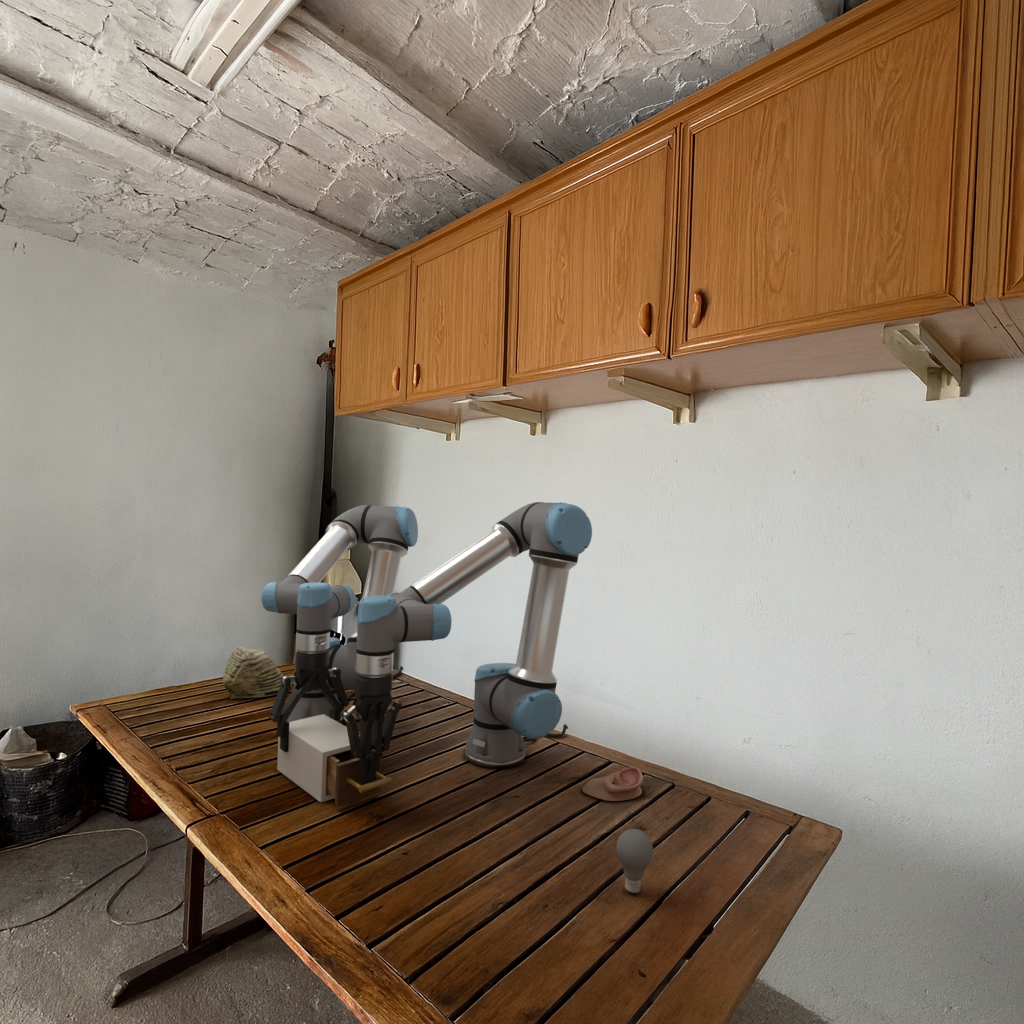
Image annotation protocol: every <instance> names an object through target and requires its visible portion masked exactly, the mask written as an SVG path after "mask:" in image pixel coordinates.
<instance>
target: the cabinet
mask: <svg viewBox="0 0 1024 1024" xmlns="http://www.w3.org/2000/svg"><path fill="white" fill-rule="evenodd" d="M289 723H290V724H289V748H288V752H284V751H282V750H281V749H280V737H279V736H277V761H276V763H277V764H276V765H277V766H276V770H277V771H278V772H280V773H281V774H282V775H284V776H285V777H286V778H288V779H289V780H290V781H292V782H293V783H294V784H296V785H297V786H298V787H300V788H301V789H302V790H304V791H305V792H306V793H307V794H308V795H310V796H311V797H313V798H314V799H315V800H316V801H318V802H320V803H323V802H324V803H325V802H327V801H330V800H332V799H335V798H334V797H332V796H331V795H330V794H328V793H327V792H326V771H327V756H330V755H333V754H337V753H341V752H344V751H348V750H351V749H350V743H349V738H348V732H347V727H346V725H344V724H342V723H339V722H337V721H335V720H333V719H331V718H330V717H328V716H326V715H324V714H322V715H318V716H314V717H309V718H305V719H300V720H296V721H292V722H289ZM359 736H360V733H359Z"/></svg>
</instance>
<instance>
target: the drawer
mask: <svg viewBox="0 0 1024 1024" xmlns="http://www.w3.org/2000/svg"><path fill="white" fill-rule="evenodd" d="M382 760H383V756H382V757H381V758H380V766H379V770H378V771H376V781H373V782H370V783H367V784H364V785H362V775H363V774H362V773H360V759H358V758H357V757H355V756H354V755H352V754H351V750H348V751H344V752H341V753H337V754H333V755H330V756H327V771H326V792H327V793H328V794H330V795H331V796H332V797H334V798H333V799H334V806H336V807H337V808H340V807H342V806H346V805H348V804H352V803H354V802H357V801H359V800H363V799H365V798H368V797H371V796H375V795H377V794H380V793H381V787H383V786H386V785H389V784H391V783H392V778H391V777H390V776H385V775H384V774H382V766H383V765H382V763H383V761H382ZM372 789H375V790H372ZM369 790H372V791H369Z"/></svg>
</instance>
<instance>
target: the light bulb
mask: <svg viewBox="0 0 1024 1024" xmlns="http://www.w3.org/2000/svg"><path fill="white" fill-rule="evenodd" d="M615 849H616V854H617V857H618V859H619V861H620V863H621V865H622V867H623V873H624V874H623V875H624V876H625V878H624V888H625V890H627V891H628V892H630V893H634V894H635V893H639V892H640V891H641V889H642V887H641V886H642V879H643V877H644V875H645V871H646V868H647V867H648V866H649V864H650V863H651V861H652V859H653V855H654V847H653V843H652V841H651V838H649V836H648V835H647V834H646V833H645V832H643V831H642V830H641V829H636V828H629V829H627V830H625V831H623V832H622V833H621V834H620V835H619V837H618V839H617V841H616V847H615Z"/></svg>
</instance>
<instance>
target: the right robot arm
mask: <svg viewBox="0 0 1024 1024" xmlns="http://www.w3.org/2000/svg"><path fill="white" fill-rule="evenodd" d="M592 537H593V526H592V522H591V520H590V517H588V514H587V513H586V511H585V510H584V509H582V508H581V507H580V506H578V505H576V504H572V503H568V502H543V501H535V502H531V503H528V504H525V505H523V506H521V507H519V508H518V509H516V510H515V511H513V512H511V513H510V514H508V515H507V516H504V518H502V519H500V520H499V521H497V522H496V523H495V524H493V526H492V530H491V531H490V532H489V533H487V534H485V535H484V536H483V537H480V539H478V540H477V541H475V542H473V543H472V544H471V545H469V546H467V548H465V549H464V550H462V551H460V552H459V553H457V554H456V555H454V556H453V557H452V558H450V559H449V560H447V561H446V562H444V563H442V564H441V565H440V566H438V567H437V568H435V569H434V570H432V571H431V572H429V573H428V574H426V575H425V576H423V577H422V578H420V579H419V580H418V581H417V580H416V581H415V582H414V583H413V584H412V585H410V586H408V587H407V588H405V589H403V590H402V591H400V592H394V593H391V594H388V595H387V596H379V595H373V596H366V597H363V596H362V597H363V598H362V597H361V599H360V600H359V603H358V609H357V618H356V624H357V649H356V663H355V671H356V672H357V674H356V675H355V685H354V690H353V691H355V694H354V699H353V701H352V706H350V707H349V709H347V710H343V711H342V713H341V715H342V717H343V721H344V723H345V726H346V727H347V732H348V738H349V743H350V749H351V754H352V755H354V756H355V757H357V758H358V759H360V773H362V774H363V775H362V785H364V784H367V783H370V782H373V781H376V771H378V770H379V766H380V758H381V757H382V758H383V757H384V752H388V751H389V750H390V747H391V742H392V737H393V733H394V730H395V725H396V722H397V717H398V714H399V712H400V710H401V709H402V706H403V705H402V702H399V701H397V700H395V699H393V695H392V691H393V681H394V680H393V679H394V678H393V675H394V674H393V671H394V664H393V661H394V659H393V657H394V658H395V655H394V654H395V643H409V642H411V643H412V642H424V641H425V642H426V641H427V642H428V641H431V642H433V641H437V640H444V639H446V638H447V637H448V636H449V634H450V633H451V630H452V621H453V620H452V614H451V611H450V609H449V607H448V606H447V605H446V604H444V602H446V601H447V600H449V599H450V598H451V597H453V596H455V595H456V594H458V593H459V592H460V591H461V590H463V589H465V588H466V587H467V586H469V585H470V584H473V582H474V581H476V580H477V579H479V578H480V577H482V576H483V575H485V574H486V573H488V572H489V571H490V570H492V569H493V568H495V567H496V566H497V565H499V564H501V562H503V561H506V560H507V559H508V558H509V557H511V558H516V557H518V556H519V555H521V554H522V553H523V552H527V551H528V557H529V558H530V560H531V561H532V571H531V577H530V581H529V582H530V583H529V588H528V594H527V599H526V605H525V611H524V617H523V623H522V628H521V633H520V639H519V645H518V649H517V650H518V651H517V656H516V662H515V663H511V662H494V663H493V662H492V663H485V664H482V665H479V666H477V668H476V670H475V677H474V681H473V682H474V695H473V722H472V723H473V724H472V727H471V730H470V732H469V734H468V738H467V740H466V743H465V746H464V747H465V748H464V757H465V759H466V760H467V761H468V762H469V763H472V764H473V765H475V766H478V767H483V768H489V769H505V768H512V767H515V766H519V765H520V764H522V763H523V762H524V761H525V759H526V752H527V751H526V745H525V743H527V742H528V743H529V742H534V741H536V740H538V739H542V738H544V737H549V738H561V737H563V736H565V734H566V732H567V730H569V726H568V725H567V724H566V723H564V724H563V726H562V731H561V732H560V733H562V734H560V733H551V732H552V731H554V729H555V728H556V727H557V726H558V725H559V722H560V720H561V717H562V713H563V703H562V701H561V699H560V697H559V695H558V694H557V693H556V690H557V684H558V678H557V677H556V676H555V674H554V672H553V668H554V663H555V658H556V651H557V644H558V640H559V634H560V628H561V622H562V616H563V610H564V606H565V605H564V604H565V599H566V594H567V593H566V592H567V588H568V587H567V586H568V581H569V575H570V570H571V569H573V568H574V567H576V566H577V565H578V561H579V556H580V555H581V554H582V553H583V552H585V550H586V549H588V547H589V546H590V544H591V541H592V539H593V538H592ZM391 672H392V673H391ZM357 715H358V716H359V719H358V720H359V723H360V724H359V725H360V726H358V722H357V718H358V717H357ZM359 734H360V736H359ZM523 737H524V738H523ZM372 790H375V789H372ZM372 790H369V791H372Z"/></svg>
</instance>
